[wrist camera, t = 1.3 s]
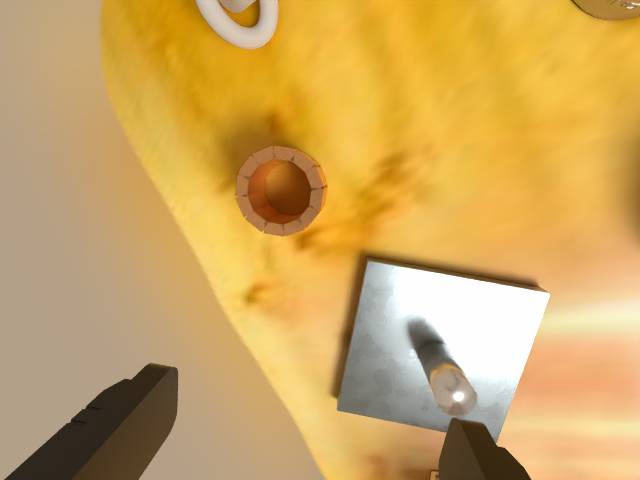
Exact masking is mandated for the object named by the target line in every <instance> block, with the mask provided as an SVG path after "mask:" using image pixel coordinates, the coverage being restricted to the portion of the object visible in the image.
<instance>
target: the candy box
mask: <svg viewBox="0 0 640 480" xmlns="http://www.w3.org/2000/svg"><path fill="white" fill-rule="evenodd" d="M430 480H439V471H432V472H431V478H430Z"/></svg>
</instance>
